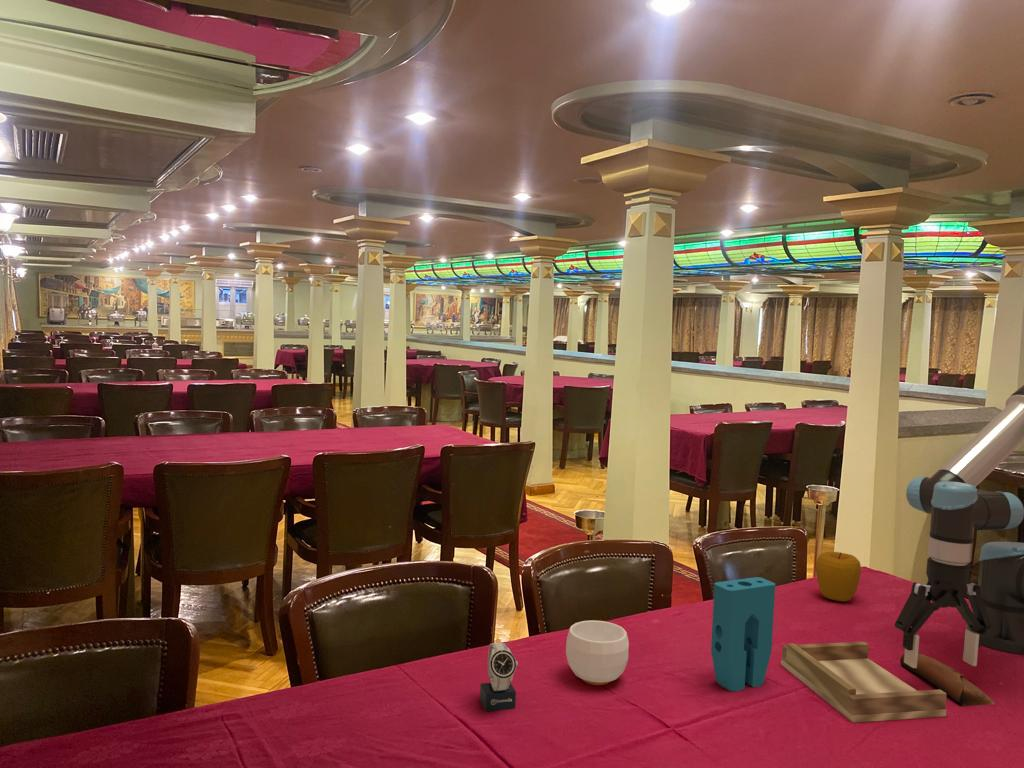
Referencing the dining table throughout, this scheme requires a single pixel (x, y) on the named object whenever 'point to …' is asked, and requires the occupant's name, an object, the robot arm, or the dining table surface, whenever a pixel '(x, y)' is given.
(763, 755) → the dining table surface
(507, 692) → the watch
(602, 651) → the cup
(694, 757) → the dining table surface
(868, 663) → the rail board
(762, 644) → the block
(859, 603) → the dining table surface
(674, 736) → the dining table surface
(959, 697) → the sunglasses case
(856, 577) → the apple
